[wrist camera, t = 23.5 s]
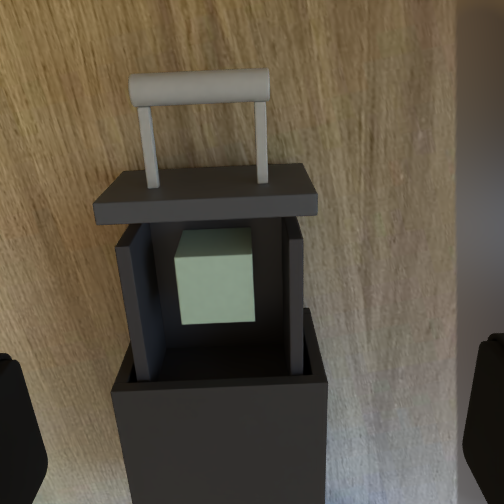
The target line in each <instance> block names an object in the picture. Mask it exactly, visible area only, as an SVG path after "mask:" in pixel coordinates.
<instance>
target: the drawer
mask: <svg viewBox="0 0 504 504" xmlns="http://www.w3.org/2000/svg"><path fill="white" fill-rule="evenodd" d="M128 89H129V96H130V100H131V103H132V105H133V106H134V107H138V108H137V111H138V118H139V126H140V134H141V141H142V149H143V156H144V164H145V170H138V171H123V172H122V173H121V174H120V175H119V176H118V177H117V179H116V180H115V181H114V182H113V183H112V184H111V185H110V186H109V187H108V188H107V189H106V190H105V191H104V192H103V193H102V194H101V195H100V196H99V197H98V198H97V200H96V201H95V202H94V203H93V210H94V216H95V221H96V225H113V224H129V226H128V227H127V229H126V230H125V232H124V234H123V235H122V237H121V238H120V240H119V241H118V243H117V245H116V246H115V252H116V258H117V264H118V270H119V276H120V282H121V288H122V294H123V300H124V306H125V311H126V317H127V323H128V329H129V335H130V341H131V347H132V353H133V359H134V365H135V371H136V377H137V383H140V382H163V381H186V380H208V379H231V378H254V377H277V376H300V375H303V237H302V234H301V230H300V227H299V224H298V220H297V217H296V216H315V215H317V211H318V194H317V192H316V190H315V188H314V186H313V184H312V182H311V180H310V178H309V176H308V174H307V172H306V170H305V168H304V166H303V164H302V163H294V164H272V165H268V160H267V125H266V102H265V101H269V99H270V79H269V69H268V68H250V69H228V70H206V71H184V72H162V73H140V74H130V75H129V79H128ZM234 102H254V116H255V142H256V165H250V166H227V167H205V168H183V169H160V170H158V165H157V157H156V149H155V140H154V132H153V124H152V116H151V107H150V106H168V105H190V104H212V103H234ZM245 227H251V236H252V258H253V280H254V304H255V321H252V322H229V323H206V324H182V323H181V315H180V307H179V298H178V289H177V281H176V272H175V264H174V257H175V254H176V250H177V247H178V244H179V241H180V238H181V235H182V232H183V230H200V229H222V228H245Z"/></svg>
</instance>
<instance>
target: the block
mask: <svg viewBox="0 0 504 504" xmlns="http://www.w3.org/2000/svg"><path fill="white" fill-rule="evenodd" d="M174 264H175V272H176V281H177V289H178V298H179V307H180V315H181V323H182V324H206V323H229V322H252V321H255V304H254V280H253V258H252V236H251V227H245V228H222V229H200V230H183V232H182V235H181V238H180V241H179V244H178V247H177V250H176V254H175V257H174Z"/></svg>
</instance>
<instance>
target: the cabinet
mask: <svg viewBox="0 0 504 504" xmlns="http://www.w3.org/2000/svg"><path fill="white" fill-rule="evenodd" d="M111 397H112V402H113V407H114V412H115V417H116V422H117V427H118V432H119V437H120V443H121V448H122V453H123V458H124V463H125V468H126V473H127V478H128V483H129V488H130V493H131V498H132V503H133V504H325V475H326V437H327V399H328V381H327V377H326V374H325V370H324V366H323V361H322V357H321V353H320V349H319V345H318V341H317V337H316V333H315V329H314V325H313V321H312V317H311V313H310V309H309V308H303V375H300V376H277V377H254V378H231V379H208V380H186V381H163V382H140V383H137V377H136V371H135V365H134V359H133V353H132V347H131V341H130V343H129V346H128V349H127V351H126V354H125V356H124V359H123V362H122V364H121V367H120V370H119V372H118V375H117V377H116V380H115V383H114V385H113V387H112V390H111Z"/></svg>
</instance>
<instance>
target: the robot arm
mask: <svg viewBox="0 0 504 504" xmlns="http://www.w3.org/2000/svg"><path fill="white" fill-rule="evenodd" d="M462 445H463V453H464V457H465V459H466V462H467V464H468V466H469V468H470V469H471V472H472V473H473V476H474V477H475V479H476V481H477V483H478V485H479V487H480V489H481V491H482V493H483V495H484V497H485V499H486V501H487V503H488V504H504V333H494V334H491V335H490V336H489V337H488V340H487V341H483V342H481V344H480V346H479V350H478V356H477V361H476V367H475V373H474V379H473V385H472V391H471V396H470V401H469V407H468V413H467V418H466V424H465V430H464V436H463V443H462ZM47 467H48V457H47V453H46V450H45V446H44V443H43V440H42V436H41V433H40V430H39V426H38V423H37V420H36V416H35V413H34V410H33V406H32V403H31V399H30V396H29V393H28V389H27V386H26V383H25V379H24V376H23V373H22V369H21V366H20V364H19V362H18V361H17V360H12V358H11V356H10V355H9V354H6V353H0V504H32V503H33V501H34V499H35V496H36V494H37V492H38V490H39V488H40V486H41V484H42V482H43V479H44V477H45V475H46V472H47Z"/></svg>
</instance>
